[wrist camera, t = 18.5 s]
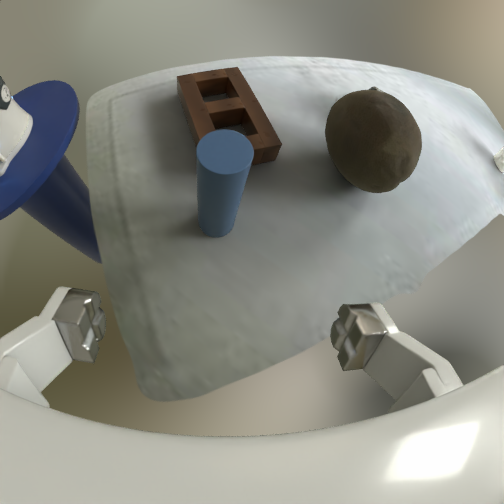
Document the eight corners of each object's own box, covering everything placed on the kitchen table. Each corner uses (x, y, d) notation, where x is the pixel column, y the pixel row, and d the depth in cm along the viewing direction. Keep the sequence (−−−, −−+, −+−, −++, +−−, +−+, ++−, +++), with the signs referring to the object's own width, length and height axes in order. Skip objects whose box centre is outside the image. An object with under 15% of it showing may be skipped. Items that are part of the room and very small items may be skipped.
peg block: (206, 176, 36) (206, 160, 32) (177, 93, 39) (176, 76, 35) (275, 160, 38) (282, 144, 35) (234, 83, 42) (237, 66, 38)
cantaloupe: (378, 146, 43) (424, 96, 29) (389, 216, 39) (452, 172, 25) (307, 125, 41) (342, 59, 27) (309, 198, 38) (360, 134, 23)
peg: (204, 242, 33) (205, 180, 19) (194, 210, 34) (189, 135, 20) (238, 231, 34) (262, 166, 20) (227, 200, 35) (242, 124, 21)
